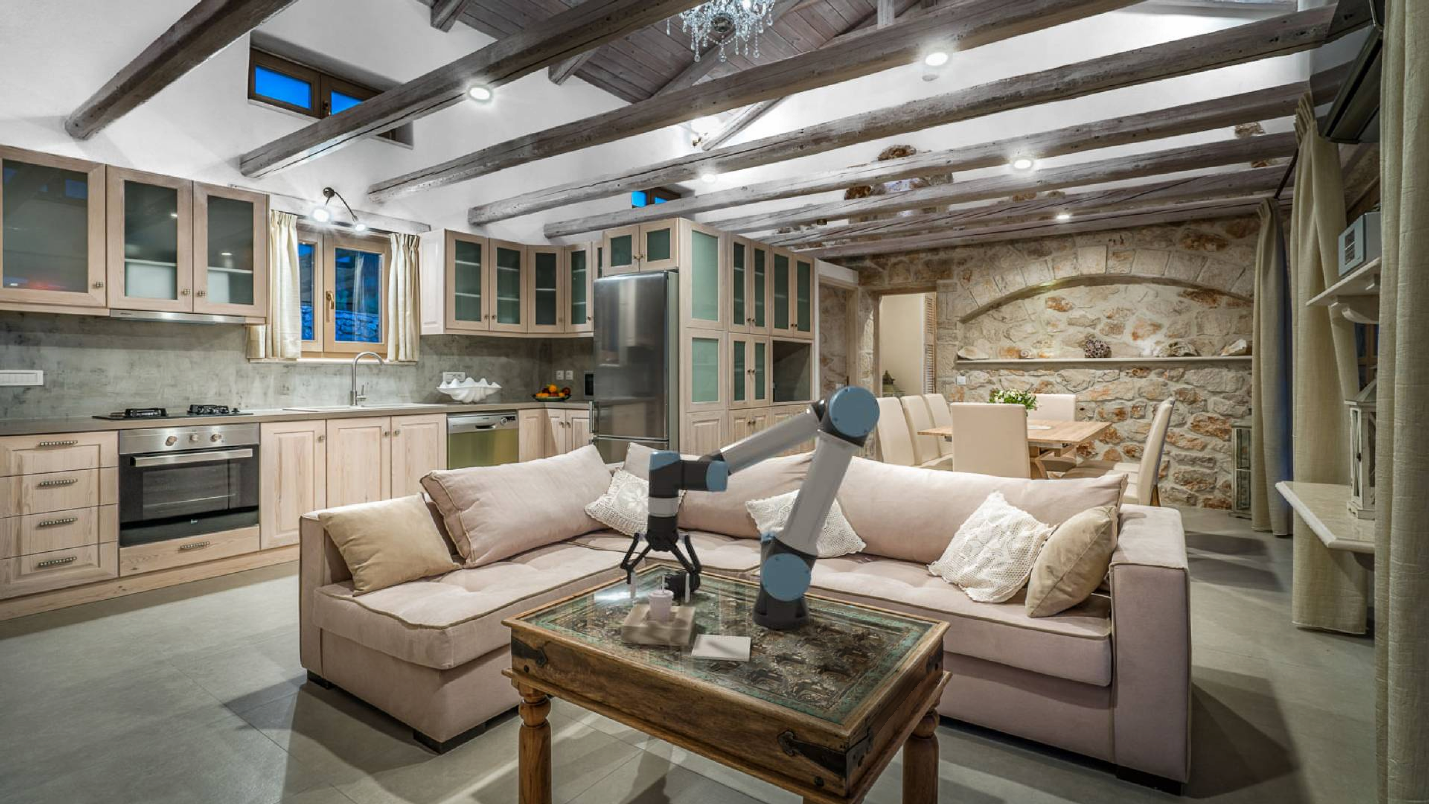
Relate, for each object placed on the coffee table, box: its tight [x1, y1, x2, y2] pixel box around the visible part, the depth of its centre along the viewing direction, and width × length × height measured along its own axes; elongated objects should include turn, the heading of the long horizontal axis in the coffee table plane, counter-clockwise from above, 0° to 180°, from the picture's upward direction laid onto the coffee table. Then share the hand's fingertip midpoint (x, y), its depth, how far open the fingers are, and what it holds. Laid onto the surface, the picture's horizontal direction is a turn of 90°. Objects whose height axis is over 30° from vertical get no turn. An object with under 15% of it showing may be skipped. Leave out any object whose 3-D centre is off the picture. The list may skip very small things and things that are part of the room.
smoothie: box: [647, 574, 674, 622], centre depth 161 cm, size 6×6×14 cm
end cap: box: [660, 569, 702, 600], centre depth 191 cm, size 10×7×7 cm
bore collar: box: [620, 603, 697, 647], centre depth 161 cm, size 16×16×4 cm
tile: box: [690, 633, 751, 663], centre depth 152 cm, size 13×13×1 cm
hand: (660, 599), depth 161 cm, fingers open, 13 cm apart
